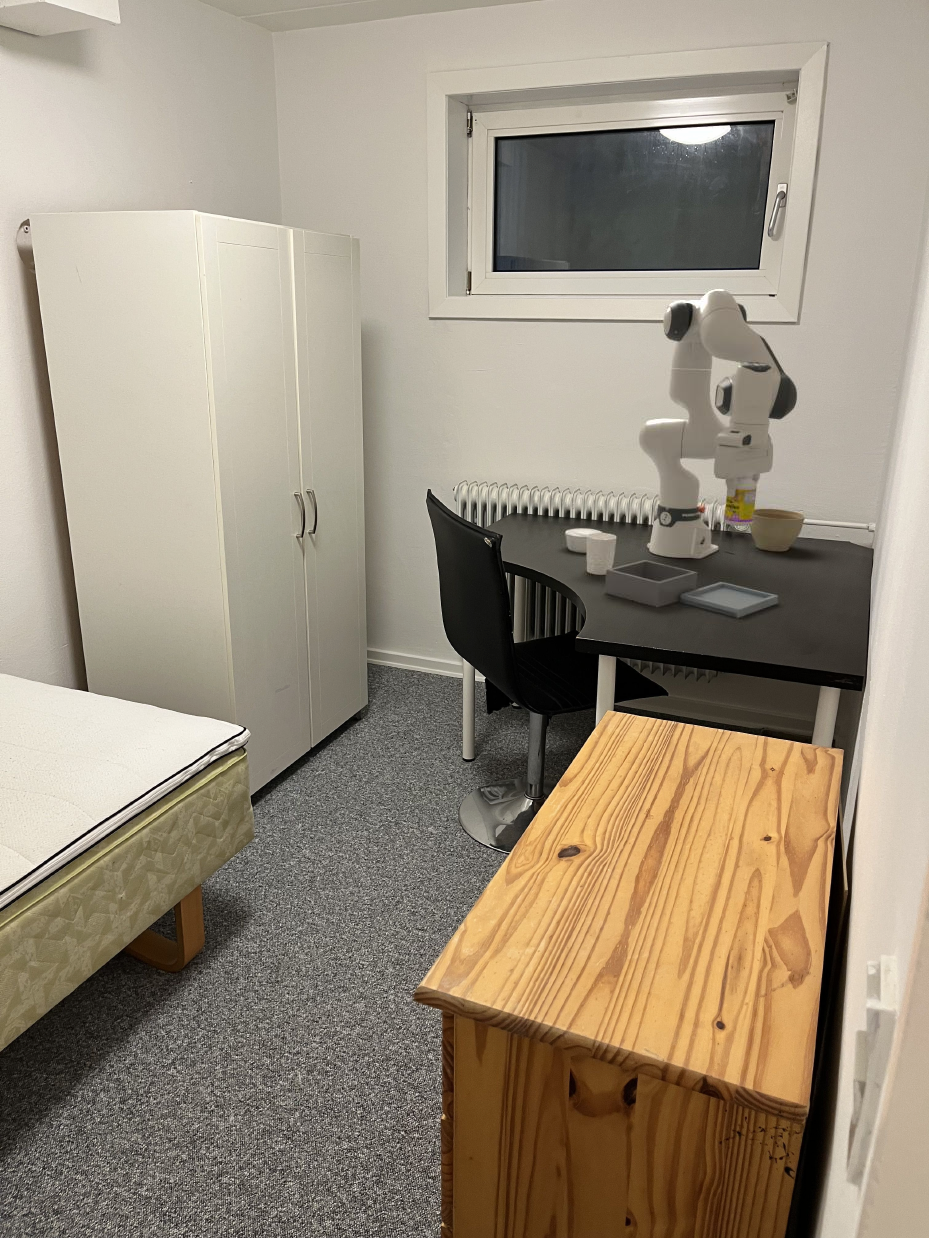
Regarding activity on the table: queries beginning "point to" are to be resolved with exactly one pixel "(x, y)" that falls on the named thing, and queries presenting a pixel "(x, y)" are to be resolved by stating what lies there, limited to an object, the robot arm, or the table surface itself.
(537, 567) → the table surface
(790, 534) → the planter bowl
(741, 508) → the supplement bottle
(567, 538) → the ramekin
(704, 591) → the tray
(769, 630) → the table surface
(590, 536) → the white cup
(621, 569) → the deep holder
